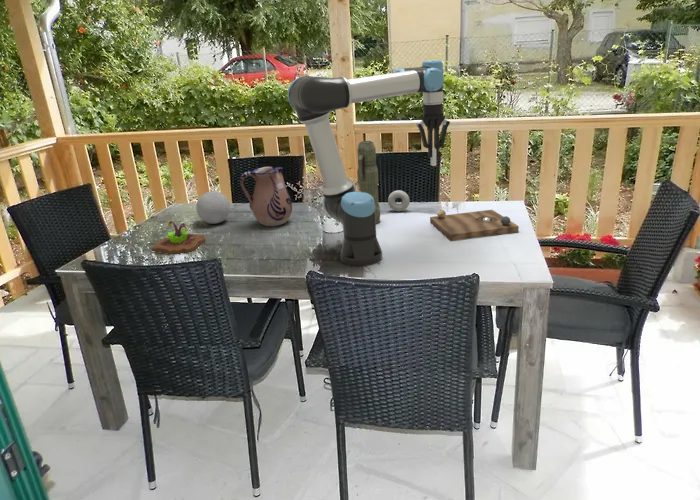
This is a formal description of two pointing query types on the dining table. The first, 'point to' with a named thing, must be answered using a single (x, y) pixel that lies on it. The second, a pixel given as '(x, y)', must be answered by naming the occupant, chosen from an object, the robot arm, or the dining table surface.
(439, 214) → the beech ball
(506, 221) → the black rubber ball
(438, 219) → the walnut plate
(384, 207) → the dining table surface
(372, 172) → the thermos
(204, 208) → the decorative ball
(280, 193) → the ceramic pitcher
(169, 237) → the plant
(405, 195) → the donut
